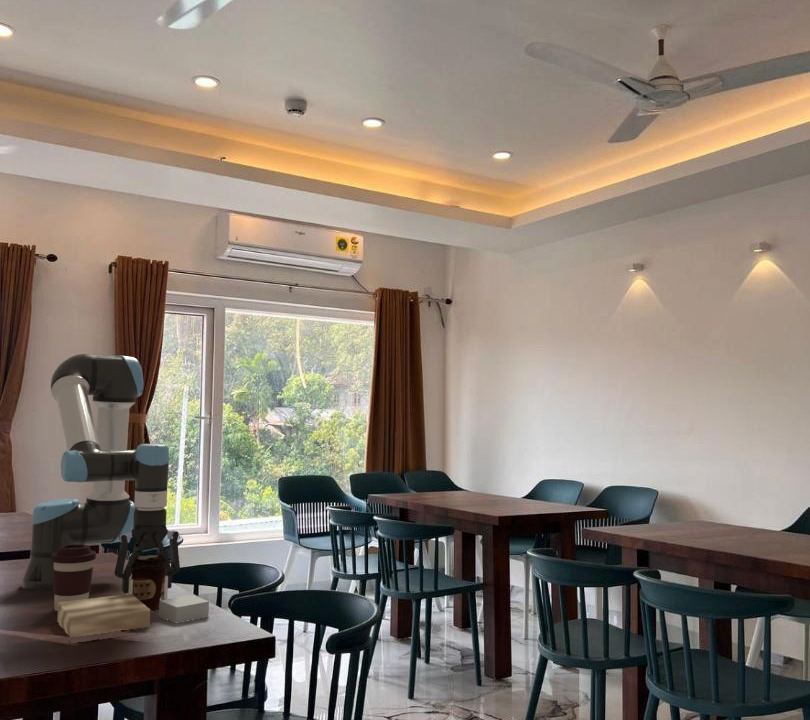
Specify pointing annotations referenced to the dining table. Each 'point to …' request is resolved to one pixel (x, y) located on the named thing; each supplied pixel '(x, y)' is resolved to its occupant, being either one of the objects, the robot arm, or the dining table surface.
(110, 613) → the beech block
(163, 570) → the coffee cup
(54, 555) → the coffee cup
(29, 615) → the dining table surface
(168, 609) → the grey block
